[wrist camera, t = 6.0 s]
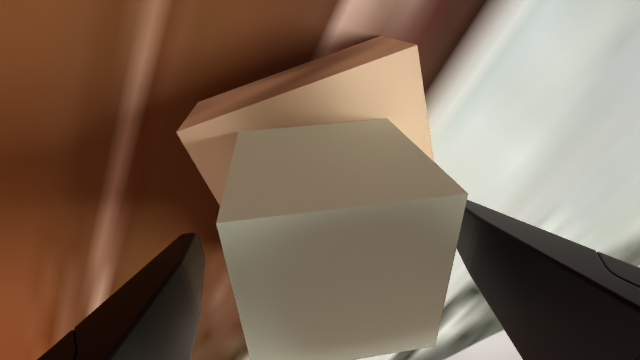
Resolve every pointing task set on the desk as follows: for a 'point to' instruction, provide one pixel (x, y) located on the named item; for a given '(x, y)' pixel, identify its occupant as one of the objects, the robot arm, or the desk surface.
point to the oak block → (312, 103)
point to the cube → (338, 240)
